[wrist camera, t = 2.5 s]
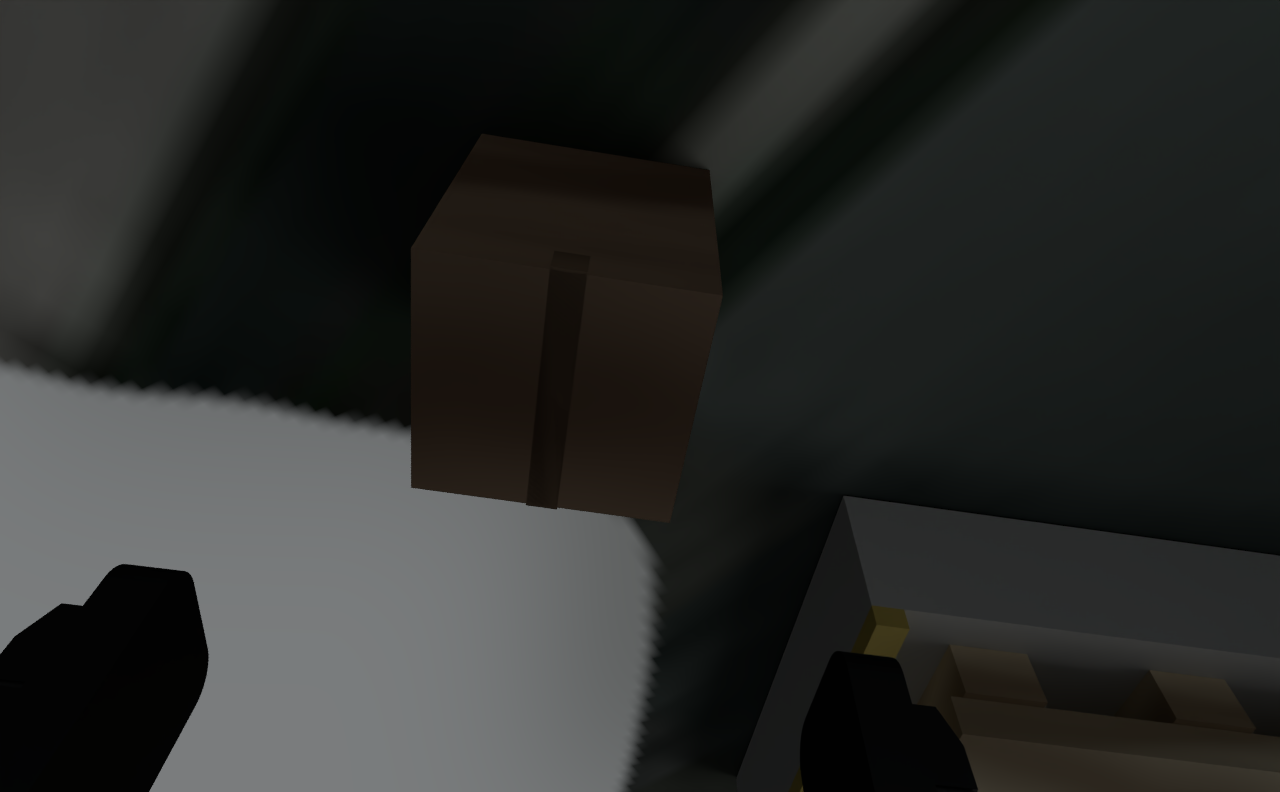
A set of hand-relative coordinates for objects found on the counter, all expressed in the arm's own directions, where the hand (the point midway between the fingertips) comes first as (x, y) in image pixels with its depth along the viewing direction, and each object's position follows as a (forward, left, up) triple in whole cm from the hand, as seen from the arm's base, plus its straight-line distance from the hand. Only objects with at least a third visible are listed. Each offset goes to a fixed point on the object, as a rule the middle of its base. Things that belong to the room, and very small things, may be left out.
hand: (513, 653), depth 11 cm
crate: (0, 0, -11) cm, 11 cm away
